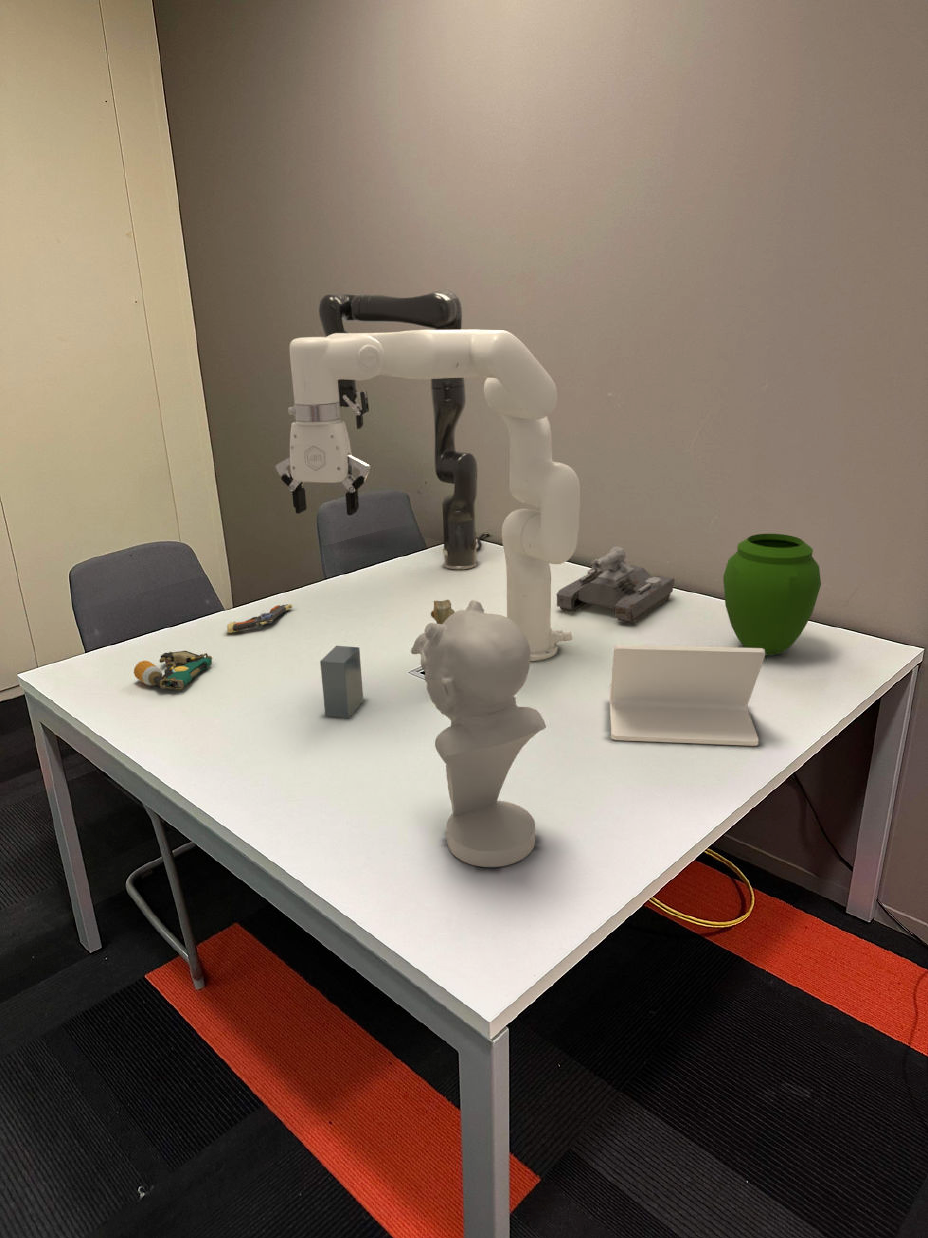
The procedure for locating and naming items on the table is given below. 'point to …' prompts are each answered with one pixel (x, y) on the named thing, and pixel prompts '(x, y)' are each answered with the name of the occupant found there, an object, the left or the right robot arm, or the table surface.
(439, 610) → the sculpture
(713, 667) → the tablet stand
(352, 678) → the brick
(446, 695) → the bust sculpture
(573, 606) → the toy
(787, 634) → the vase
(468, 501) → the left robot arm
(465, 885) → the table surface
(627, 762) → the table surface
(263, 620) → the toy gun
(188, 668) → the green toy blaster
